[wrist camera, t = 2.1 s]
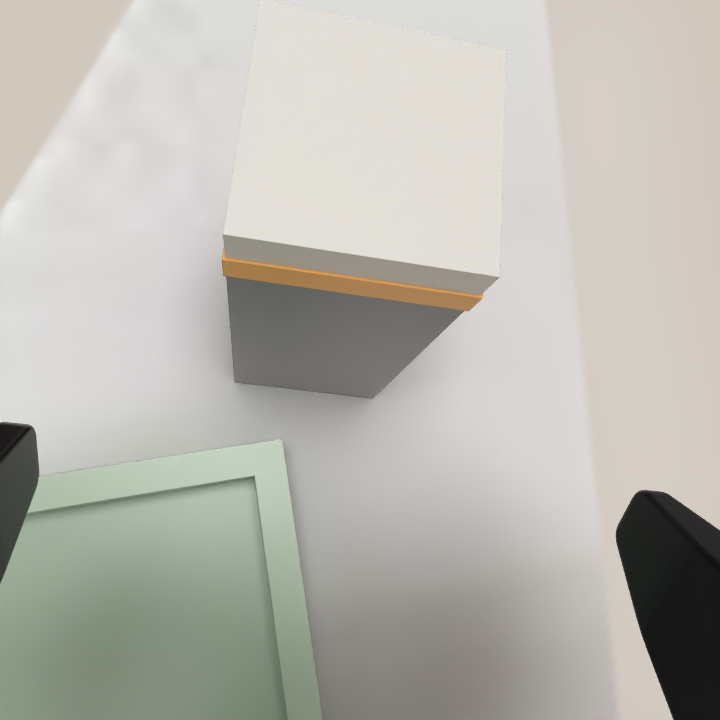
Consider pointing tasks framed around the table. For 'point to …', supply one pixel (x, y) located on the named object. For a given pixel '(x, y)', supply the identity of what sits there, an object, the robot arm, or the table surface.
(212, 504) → the tray
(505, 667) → the table surface
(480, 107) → the grey tall block
